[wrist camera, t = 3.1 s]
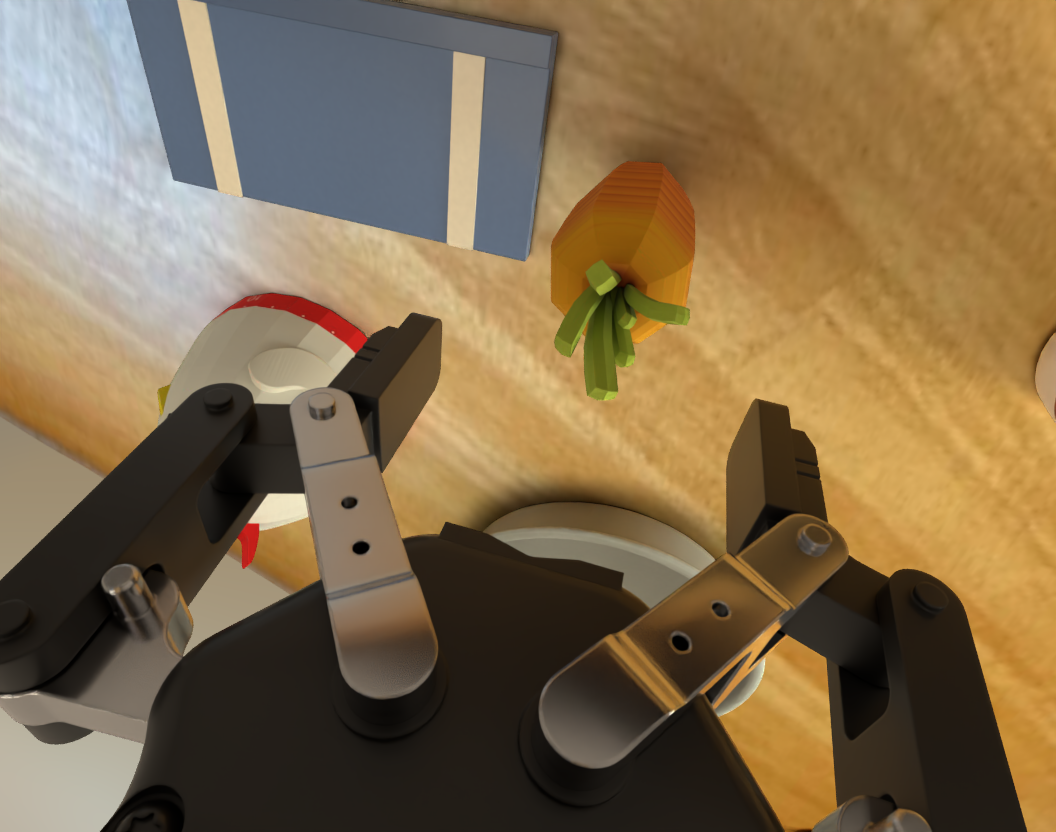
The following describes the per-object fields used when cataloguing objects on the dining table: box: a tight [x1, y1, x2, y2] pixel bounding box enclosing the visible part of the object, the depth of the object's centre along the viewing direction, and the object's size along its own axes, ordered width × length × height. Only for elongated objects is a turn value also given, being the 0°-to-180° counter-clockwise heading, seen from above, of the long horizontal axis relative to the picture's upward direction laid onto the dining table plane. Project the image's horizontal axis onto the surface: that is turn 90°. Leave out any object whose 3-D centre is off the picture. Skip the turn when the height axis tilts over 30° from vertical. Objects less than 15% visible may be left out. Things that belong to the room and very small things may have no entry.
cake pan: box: [483, 502, 765, 717], centre depth 46 cm, size 25×25×4 cm
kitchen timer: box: [157, 293, 368, 569], centre depth 36 cm, size 14×14×15 cm
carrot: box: [551, 161, 695, 400], centre depth 22 cm, size 5×5×15 cm
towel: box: [127, 0, 558, 261], centre depth 29 cm, size 10×20×1 cm, turn 83°
